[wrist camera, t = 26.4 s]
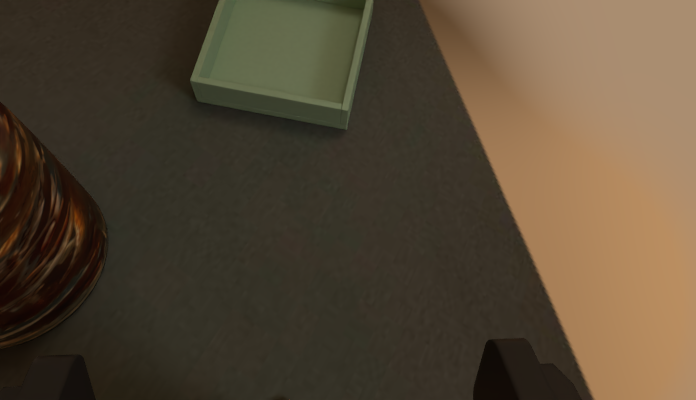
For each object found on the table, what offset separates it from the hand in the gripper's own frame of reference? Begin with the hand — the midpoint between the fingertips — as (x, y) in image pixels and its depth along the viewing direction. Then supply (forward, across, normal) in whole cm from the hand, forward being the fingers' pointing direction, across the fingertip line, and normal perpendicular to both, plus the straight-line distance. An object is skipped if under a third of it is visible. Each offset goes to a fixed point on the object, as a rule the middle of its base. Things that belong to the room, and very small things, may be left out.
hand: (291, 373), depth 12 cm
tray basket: (+34, -1, +5) cm, 35 cm away
